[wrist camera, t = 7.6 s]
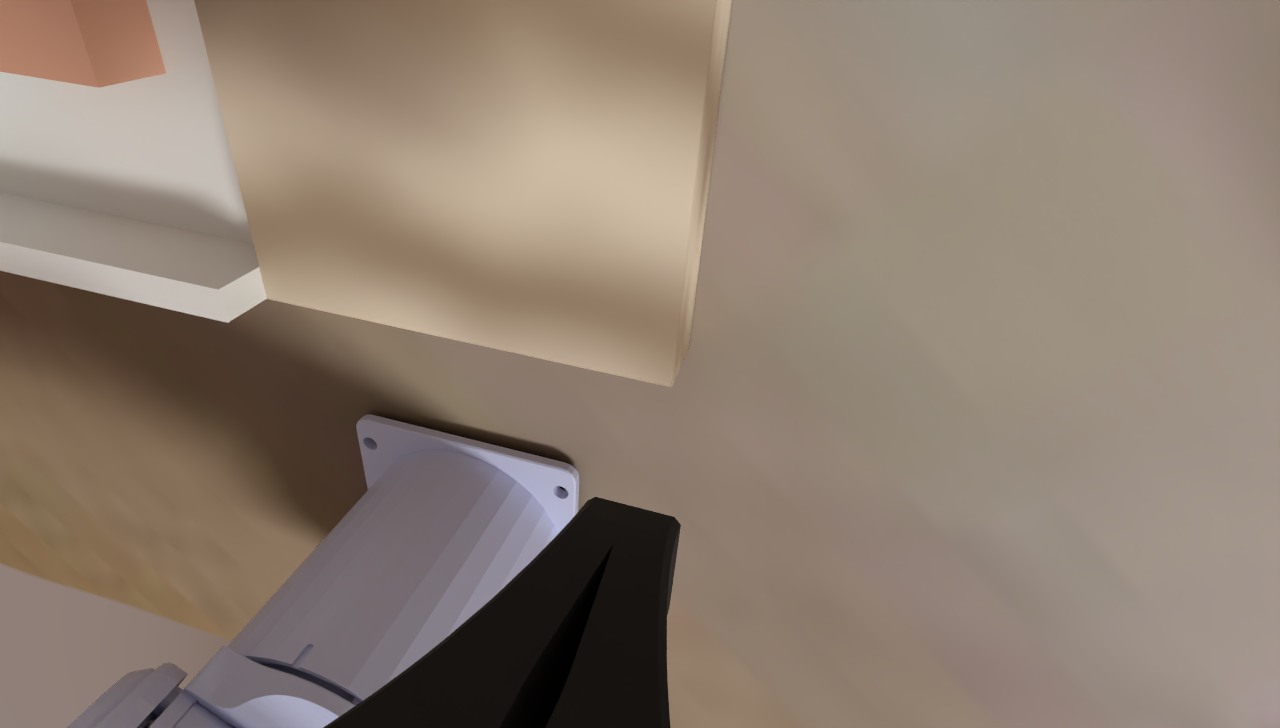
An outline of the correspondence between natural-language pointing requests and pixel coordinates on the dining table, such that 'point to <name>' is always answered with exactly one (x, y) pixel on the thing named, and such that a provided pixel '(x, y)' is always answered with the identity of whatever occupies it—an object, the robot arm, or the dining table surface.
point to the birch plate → (480, 165)
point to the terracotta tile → (79, 41)
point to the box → (129, 183)
